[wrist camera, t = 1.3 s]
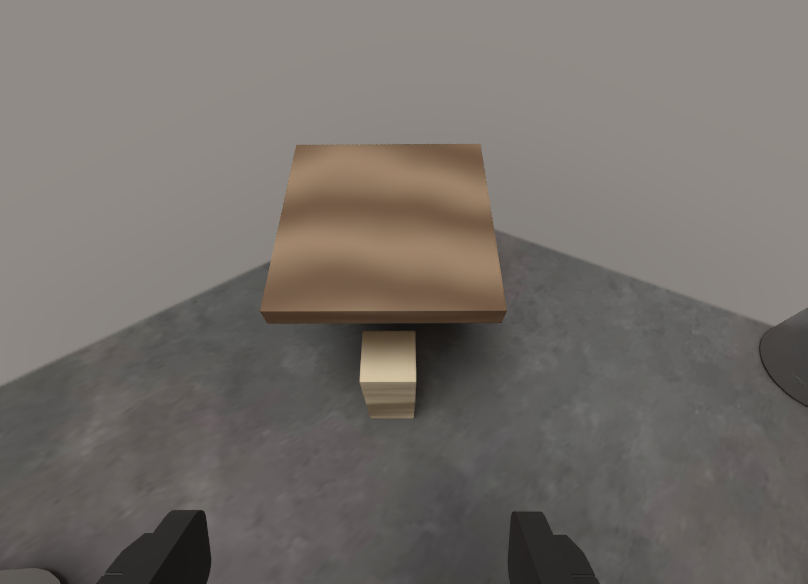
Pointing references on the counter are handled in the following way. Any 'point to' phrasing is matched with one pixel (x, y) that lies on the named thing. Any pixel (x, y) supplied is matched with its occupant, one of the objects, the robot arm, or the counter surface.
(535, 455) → the counter surface
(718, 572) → the counter surface
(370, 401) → the oak block
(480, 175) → the walnut shelf
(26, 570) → the can
